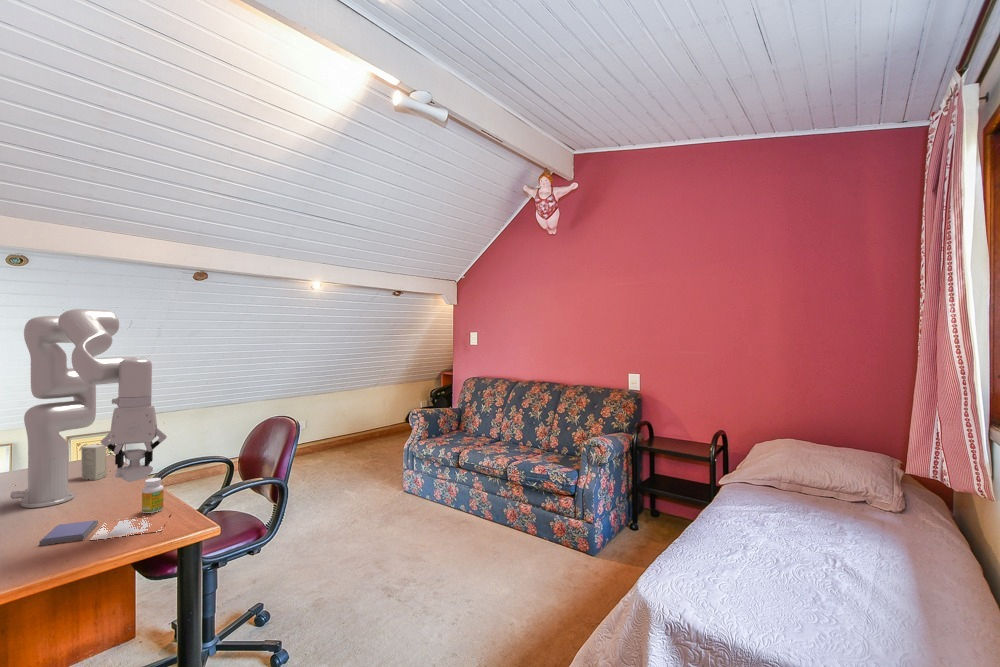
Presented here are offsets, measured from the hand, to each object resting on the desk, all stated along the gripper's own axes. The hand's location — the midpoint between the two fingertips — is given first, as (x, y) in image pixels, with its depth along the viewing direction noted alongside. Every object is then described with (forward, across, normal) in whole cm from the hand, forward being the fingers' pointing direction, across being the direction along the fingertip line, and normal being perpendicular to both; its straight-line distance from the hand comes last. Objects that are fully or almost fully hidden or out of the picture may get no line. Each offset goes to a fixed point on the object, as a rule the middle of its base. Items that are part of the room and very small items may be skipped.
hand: (134, 465), depth 136 cm
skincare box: (+18, -25, +58) cm, 66 cm away
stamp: (+4, 0, 0) cm, 4 cm away
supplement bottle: (+18, +2, +12) cm, 22 cm away
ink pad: (+18, -14, 0) cm, 22 cm away
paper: (+18, 0, 0) cm, 18 cm away
